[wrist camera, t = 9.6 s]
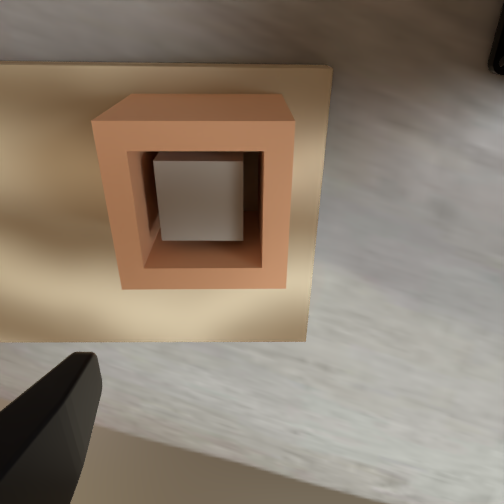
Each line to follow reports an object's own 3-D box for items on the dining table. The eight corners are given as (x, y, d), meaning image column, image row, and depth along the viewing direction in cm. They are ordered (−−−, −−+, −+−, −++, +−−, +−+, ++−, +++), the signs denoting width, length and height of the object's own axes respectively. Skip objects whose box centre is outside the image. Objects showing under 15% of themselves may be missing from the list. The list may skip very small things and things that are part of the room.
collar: (131, 93, 16) (90, 120, 12) (281, 94, 16) (295, 121, 12) (149, 228, 19) (121, 289, 15) (276, 228, 19) (286, 288, 15)
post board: (-157, 59, 17) (-315, 74, 12) (326, 64, 17) (357, 82, 13) (-42, 324, 24) (-113, 401, 19) (302, 324, 24) (316, 399, 19)
